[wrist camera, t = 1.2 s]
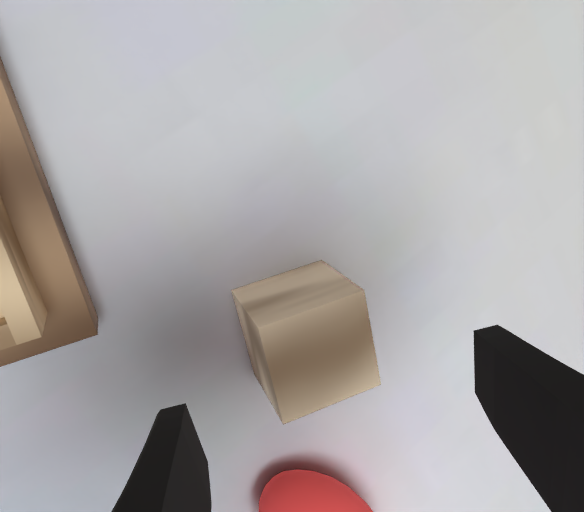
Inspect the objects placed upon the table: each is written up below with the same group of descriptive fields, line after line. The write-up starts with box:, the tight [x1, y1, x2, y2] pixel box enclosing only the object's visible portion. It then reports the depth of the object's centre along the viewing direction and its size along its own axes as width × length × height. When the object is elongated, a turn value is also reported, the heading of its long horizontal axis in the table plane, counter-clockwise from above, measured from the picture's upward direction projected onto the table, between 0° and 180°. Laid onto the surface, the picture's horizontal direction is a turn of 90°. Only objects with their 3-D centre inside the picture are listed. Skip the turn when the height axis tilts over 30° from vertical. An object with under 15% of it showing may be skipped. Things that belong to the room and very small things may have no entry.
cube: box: [231, 260, 381, 425], centre depth 23 cm, size 4×4×4 cm
